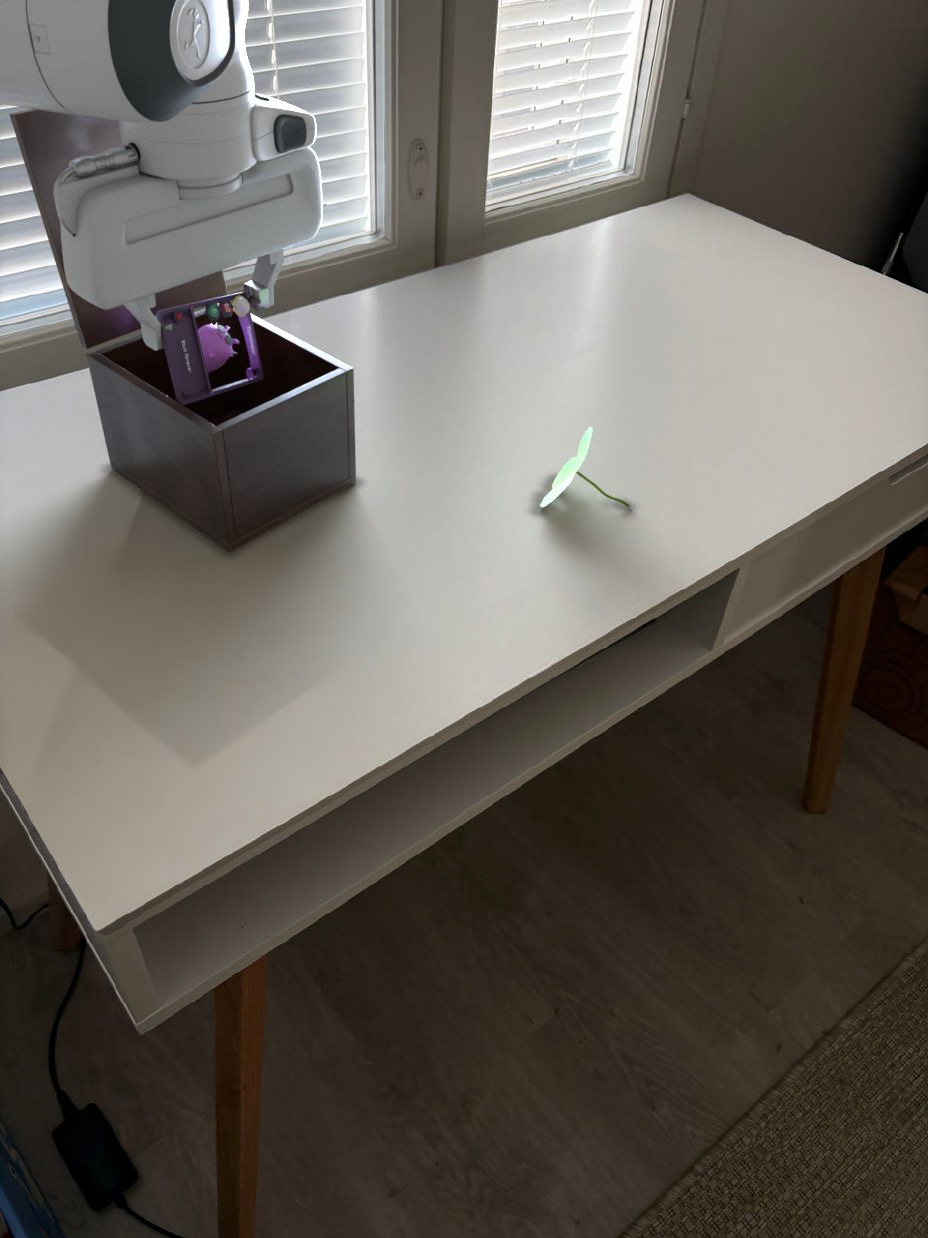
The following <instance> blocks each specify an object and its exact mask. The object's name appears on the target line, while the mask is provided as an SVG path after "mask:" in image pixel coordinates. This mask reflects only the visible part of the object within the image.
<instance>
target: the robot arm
mask: <svg viewBox="0 0 928 1238" xmlns="http://www.w3.org/2000/svg"><path fill="white" fill-rule="evenodd" d="M248 12H249V0H0V105H4V106H12V107H17V108H18V107H19V108H24V109H25V108H26V109H38V110H45V111H51V112H58V113H65V114H72V115H80V116H91V117H98V118H105V119H112V120H118V122H119V127H120V134H121V140H122V147H118V148H114V149H110V150H107V151H104V152H102V153H99V154H96V155H93V156H89V155H86V156H81V157H77V158H75V159H73V160H71V161H70V162H69V167H68V168H67V169H65V170H64V171H63V172H62V173H61V174H60V176H59V177H58V179H57V182H55V184H54V188H53V193H54V199H55V204H56V209H57V214H58V217H59V220H60V223H61V243H62V254H63V262H64V269H65V275H66V280H67V283H68V285H69V287H70V288H71V289H72V290H73V291H74V292H75V293H76V294H77V295H79V296H80V297H82V298H83V299H84V300H86V301H88V302H89V303H91V304H93V305H95V306H97V307H99V308H101V309H105V310H109V309H112V308H115V307H118V306H121V305H124V306H125V307H126V308H127V309H128V310H129V311H130V312H131V313H132V315H133V316H134V317H135V318H136V319H137V320H138V321H139V322H140V324H141V329H140V330H141V333H142V336H143V340H144V342H145V344H146V345H147V346H148V347H150V348H152V349H153V350H155V351H157V350H160V349H162V348H164V345H163V341H162V337H161V324H160V322H159V321H158V320H157V316H154V315H153V314H152V312H151V311H150V310H149V308H153V307H155V306H156V301H155V293H158V292H161V291H164V290H167V289H170V288H173V287H175V286H178V285H181V284H184V283H187V282H190V281H193V280H195V279H198V278H201V277H204V276H207V275H210V274H213V273H215V272H218V271H221V270H223V271H224V270H227V269H230V268H232V267H236V266H238V265H241V264H244V263H247V262H249V261H253V260H255V259H256V262H255V265H254V269H253V273H252V277H251V280H249V281H246V282H244V283H243V292H245V293H246V294H247V298H248V302H249V304H250V309H254V311H256V312H259V311H262V310H264V309H267V308H270V307H272V306H274V305H275V293H274V286H275V285H276V282H277V280H278V277H279V274H280V272H281V269H282V267H283V264H284V262H285V256H284V255H285V254H284V250H285V249H287V248H289V247H293V246H295V245H298V244H301V243H304V242H307V241H310V240H312V239H314V238H315V237H316V235H317V234H318V232H319V229H320V227H321V225H322V223H323V215H324V214H323V213H324V212H323V208H324V207H323V187H322V175H321V167H320V163H319V158H318V157H317V154H316V152H315V151H314V150H313V148H312V147H311V146H313V144H314V143H315V141H316V138H317V122H316V121H317V120H316V118H315V116H314V115H313V114H311V113H309V112H307V111H306V110H303V109H301V108H299V107H297V106H295V105H292V104H289V103H287V102H285V101H282V100H279V99H276V98H273V97H270V96H267V95H264V94H261V93H257V92H255V81H254V80H255V79H254V75H253V71H252V68H251V65H250V62H249V59H248V55H247V51H246V43H245V33H246V32H245V30H246V29H245V28H246V24H247V18H248V14H249V13H248ZM71 174H72V175H73V176H74V177H71V178H68V177H69V176H70V175H71ZM165 327H166V329H168V330H173V328H172V323H169V324H167V325H165Z"/></svg>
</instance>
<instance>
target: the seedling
mask: <svg viewBox="0 0 928 1238" xmlns="http://www.w3.org/2000/svg"><path fill="white" fill-rule="evenodd" d="M592 435H593V427H592V426H589V427H588V428H587V429H586V431H585V432H584V434H583V436H582V437H581V439H580V442H579V445H578V449H577V454H576V456H573V457H571V458H570V459H569V460H568V461H567V462H566V463H565V464H564V465H563V466H562V467H561V469H560V471H559V472H558V473H557V475H556V477H555V478H554V480H553V483H552V485H551V491H549V492H548V493H547V494H546V495H544V497H543V499H542V500H541V503H540V504H539V507H540V508H544V507H546V506H548V505H549V504H551V503H552V502H553V501H554V500H556V499H557V498H558V497H559V496H560V495H561V494H562V493H563V491H565V490H566V488H567V487H568V486H570V484H571V482H572V481H573V479H574V477H575V475H576V474H577V475H578V476H579V477H580V478H582V479H583V480H585V481H586V482H587V483H589V484H590V485H592V486H593V487H594V488H595V489H596V490H598V492H599V493H600V494H601V495H603V496H604V497H606V498H608V499H611V500H613V501H617V502H618V503H621V504H623V505H625V506H626V507H627V508H630V504H629V503H627V502H626V501H624V500H623V499H621V498H618V497H615V496H611V495H610V494H608V493H606V492H605V491H603V490H602V489H601V488H600V487H599V485H597V484H596V483H595V482H593V481H592V480H591V479H589V478H588V477H587V476H586V475H584V474H582V473H581V472H580V471H578V470H579V469H580V467H581V466H582V464H583V463H584V461H585V459H586V458H587V457H588V455H589V454H590V452H591V451H592V449H593V447H594V446H595V445H596V443H594V445H593V446H592V448H591V449H590V451H589V448H590V444H591V440H592V439H591V438H592Z"/></svg>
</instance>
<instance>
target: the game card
mask: <svg viewBox="0 0 928 1238" xmlns="http://www.w3.org/2000/svg"><path fill="white" fill-rule="evenodd" d="M231 301H232V302H231ZM217 304H219V306H218V305H217ZM232 304H233V305H232ZM204 307H205V308H206V309H205V308H204ZM198 308H204V309H205V314H206V315H207V317H208V318H209V320H210V321H215V320H219V316H220V313H221V314H222V316H223V317H224V318H227V317H231V316H232V313H233V308H234V311H235V313H236V314H237V315H238V318H239V321H240V324H241V327H242V330H243V333H244V337H245V341H246V345H247V350H248V354H249V359H250V365H251V368H248V369H246V374H247V379H244V380H241V381H237V382H234V383H231V384H228V385H225V386H222V387H219V388H215V389H212V390H211V386H210V381H209V377H208V373H209V372H212V371H214V370H216V369H218V368H219V367H221V366H222V365H223V364H224V363H225V362H226V361H227V360H228V358H229V357H230V356H233V355H232V354H237V352H234V351H233V349H232V344H234V343H237V344H239V341H238V340H237V339H231V337H230V336H229V334H228V333H227V331H228V330H229V329H230V327H228V326H225V327H223V326H221V325H218V326H217V323H216V324H215V325H212V323H211V324H210V325H205V326H203V327H201V328H200V329H197V324H196V320H195V315H194V312H195V311H194V309H198ZM251 314H252V312H251V308H250V304H249V302H248V298H247V294H246V293H245V292H244V291H241V292H235V293H232V294H228V295H227V296H222V297H218V298H213V299H209V300H204V301H200V302H195V303H191V304H186V305H182V306H177V307H173V308H168V309H164V310H159V311H157V312H156V316H157V320H158V321H159V322H160V324H161V337H162V341H163V345H164V349H165V354H166V358H167V362H168V366H169V370H170V374H171V378H172V383H173V387H174V391H175V395H176V399H177V402H178V403H179V404H181V405H186V404H189V403H192V402H195V401H198V400H201V399H205V398H208V397H211V396H214V395H217V394H220V393H223V392H226V391H229V390H232V389H235V388H239V387H242V386H245V385H248V384H251V383H254V382H257V381H260V380H263V378H264V376H263V371H262V366H261V361H260V356H259V351H258V346H257V342H256V337H255V332H254V327H253V322H252V317H251ZM169 323H172V328H173V330H168V329H166V327H165V325H167V324H169ZM254 369H255V372H256V376H254V374H253V371H252V370H254Z"/></svg>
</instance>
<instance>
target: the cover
mask: <svg viewBox="0 0 928 1238" xmlns="http://www.w3.org/2000/svg"><path fill="white" fill-rule="evenodd" d="M9 118H10V121H11V124H12V127H13V131H14V135H15V138H16V140H17V144H18V147H19V150H20V153H21V156H22V160H23V163H24V165H25V170H26V172H27V177H28V179H29V182H30V186H31V188H32V191H33V195H34V199H35V201H36V204H37V207H38V211H39V214H40V217H41V221H42V224H43V226H44V230H45V233H46V237H47V240H48V242H49V246H50V249H51V252H52V255H53V259H54V263H55V265H56V269H57V272H58V275H59V278H60V282H61V285H62V288H63V291H64V295H65V297H66V301H67V304H68V307H69V311H70V313H71V317H72V320H73V323H74V326H75V330H76V332H77V336H78V339H79V343H80V345H81V348H83V349H86V350H88V349H91V348H95V347H96V346H99V345H102V344H106V343H107V342H110V341H113V340H115V339H117V338H121V337H123V336H125V335H129V334H132V333H133V332H136V331H139V330H141V324H140V322H139V321H138V320H137V319H136V318H135V317H134V316H133V315H132V313H131V312H130V311H129V310H128V309H127V308H126V307H125V306H124V305H121V306H118V307H115V308H112V309H109V310H105V309H101V308H99V307H97V306H95V305H93V304H91V303H89V302H88V301H86V300H84V299H83V298H82V297H80V296H79V295H77V294H76V293H75V292H74V291H73V290H72V289H71V288H70V287H69V285H68V283H67V280H66V275H65V269H64V262H63V254H62V243H61V223H60V220H59V217H58V214H57V209H56V204H55V199H54V193H53V188H54V184H55V182H57V179H58V177H59V176H60V174H61V173H62V172H63V171H64V170H65V169H67V168H68V167H69V162H70V161H71V160H73V159H75V158H77V157H81V156H86V155H89V156H93V155H96V154H99V153H102V152H104V151H107V150H110V149H114V148H118V147H122V140H121V134H120V127H119V122H118V120H112V119H105V118H98V117H91V116H80V115H72V114H65V113H58V112H51V111H45V110H38V109H31V108H28V109H25V110H19V111H16V112H12V113H9ZM71 177H74V176H73V175H72V174H71V175H70V176H69V177H68V178H71ZM225 279H226V278H225V274H224V270H221V271H218V272H215V273H213V274H210V275H207V276H204V277H201V278H198V279H195V280H193V281H190V282H187V283H184V284H181V285H178V286H175V287H173V288H170V289H167V290H164V291H161V292H158V293H155V301H156V306H155V307H153V308H149V310H150V311H151V312H152V314H153V315H154V316H156V312H157V311H159V310H164V309H168V308H173V307H177V306H182V305H186V304H191V303H195V302H200V301H204V300H209V299H213V298H218V297H222V296H227V295H229V293H228V289H227V283H226V280H225Z"/></svg>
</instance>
